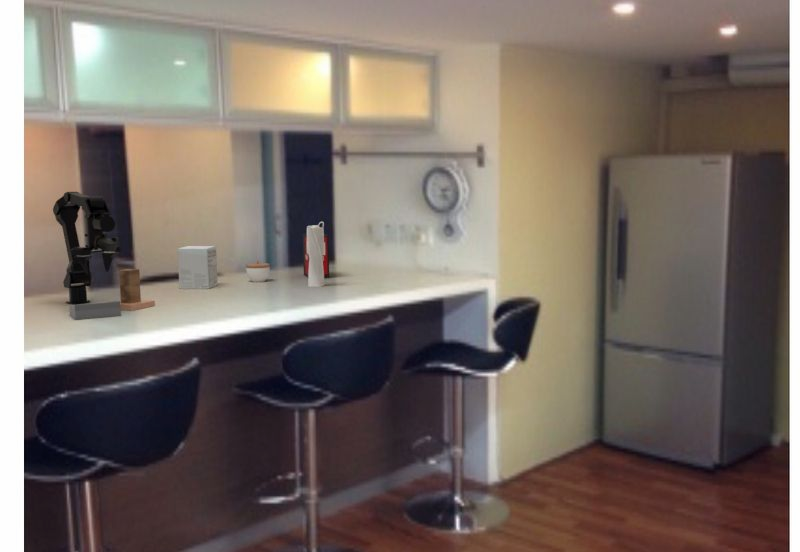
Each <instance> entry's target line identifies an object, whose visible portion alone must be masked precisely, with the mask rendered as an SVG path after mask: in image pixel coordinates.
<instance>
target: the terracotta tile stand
mask: <svg viewBox="0 0 800 552" xmlns="http://www.w3.org/2000/svg"><path fill="white" fill-rule="evenodd" d="M119 301H120V306H121V311H129V312H130V311H137V310H142V309H147V308H152V307H156V302H155V300H152V299H151V300H150V299H141V301H140V302H135V303H121V300H119Z"/></svg>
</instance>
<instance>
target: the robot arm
mask: <svg viewBox="0 0 800 552" xmlns="http://www.w3.org/2000/svg"><path fill="white" fill-rule="evenodd" d="M80 209H81V210H82V211H84V213H85V215H84V218H85V219H86V231H87V232H86V233H84V237H87V244H85V246H80V241H79V235H78V231H77V227H76V222H77V220H78V217H79V211H80ZM52 211H53V214H54V217H55V220H56V222H57V223H58V224H59V225H60V226H61V227H62V228H61V229H62V232H63V238H64V243H65V247H66V252H67V257H68V265H67V267H66V270H65V271H66V274H65V276H64V280H63V282H62V283H63V287H64V288H66V289H68V295H69V296H68V297H69V299H68V301H66V302H65V303H66V304H72V305H73V304H74V305H77V304H87V303H90V302H91V300H90V299H88V293H87V287H91V284H92V277H93V276H92V272H91V270H90V267H91V265H90V260H91V258H92V256H93V255H91V254H93V253H101V258H102V263H103V267H104V271H105V272H106V273H107V272H108V273H109V272H110V268H111V266H112V262H113V259H114V257H116V256H117V255H118V254H119V253H120V252H122V250H121V245H120V238H118V237H117V236H114V237H112V238H110V237H109V238H108V235H107V233H109V232H112V231H113V230H114V229H115V227H116V221H115V220H114V218H113V217H112V216H110V215H111V212H110V211H111V210H110V207H109V206H108V204H107V201H106V199H104V197H103V196H102V195H101V196H100V195H99V196H89V195H86V194H83V193H80V192H79V191H66V192H65V193H64V194H63V196H61V197H60V198H59V199H57V200H56V201H55V203H54V205H53V208H52Z"/></svg>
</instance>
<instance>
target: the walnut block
mask: <svg viewBox="0 0 800 552" xmlns="http://www.w3.org/2000/svg"><path fill="white" fill-rule="evenodd" d="M118 274H119V276H118V277H119V290H120V291H119V293H120V294H119V295H120V301H121V303H135V302H140V301H141V300H142V297H141V279H140V278H141V277H140V269H137V268H126V269H119V270H118Z"/></svg>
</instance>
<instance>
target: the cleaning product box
mask: <svg viewBox="0 0 800 552" xmlns="http://www.w3.org/2000/svg"><path fill="white" fill-rule="evenodd" d="M329 238H330V237H329V235H328V234H326V233H324V249H323V255H322V261H323V269H324V280H325V279H330V251H329V250H330V247H329V246H330V245H329V244H330V243H329V242H330V241H329ZM302 252H303V256H302V258H303V262H302V263H303V276H305V277H306V278H308V274H309V254H308V248H307V233H302Z"/></svg>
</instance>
